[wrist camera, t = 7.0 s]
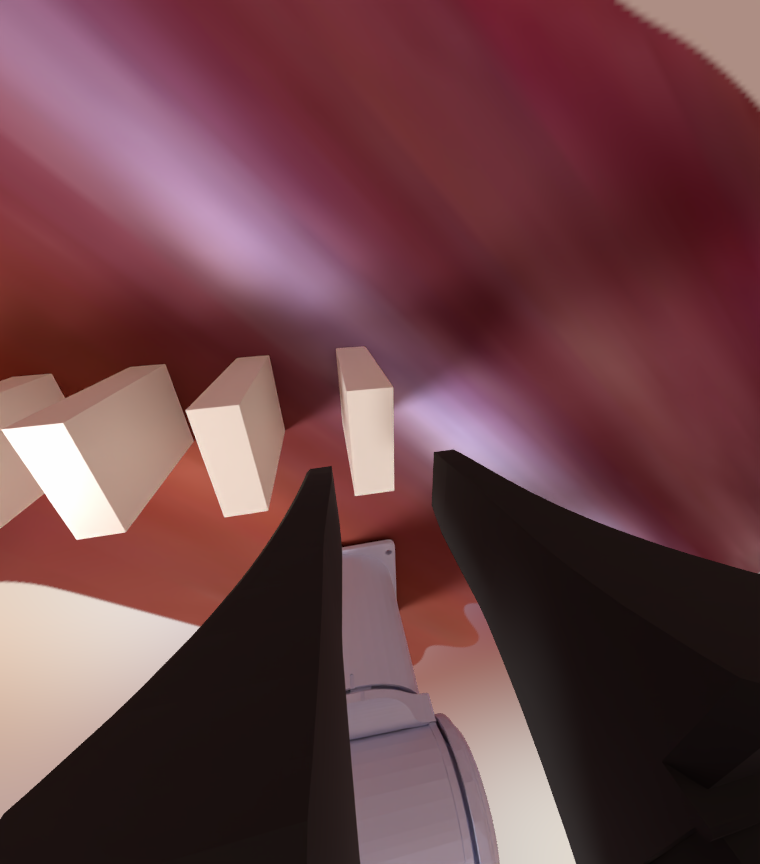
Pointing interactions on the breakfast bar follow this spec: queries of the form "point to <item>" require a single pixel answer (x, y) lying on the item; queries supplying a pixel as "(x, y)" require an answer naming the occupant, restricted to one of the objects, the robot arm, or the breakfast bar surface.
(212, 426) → the domino
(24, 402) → the domino
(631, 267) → the breakfast bar surface
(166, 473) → the domino
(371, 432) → the domino
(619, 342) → the breakfast bar surface
